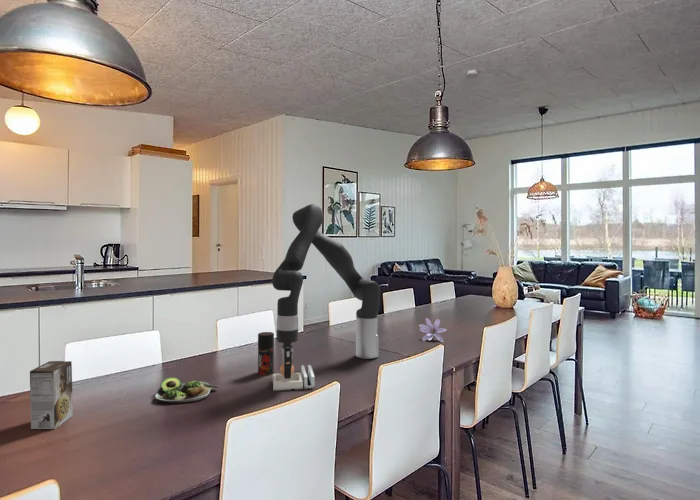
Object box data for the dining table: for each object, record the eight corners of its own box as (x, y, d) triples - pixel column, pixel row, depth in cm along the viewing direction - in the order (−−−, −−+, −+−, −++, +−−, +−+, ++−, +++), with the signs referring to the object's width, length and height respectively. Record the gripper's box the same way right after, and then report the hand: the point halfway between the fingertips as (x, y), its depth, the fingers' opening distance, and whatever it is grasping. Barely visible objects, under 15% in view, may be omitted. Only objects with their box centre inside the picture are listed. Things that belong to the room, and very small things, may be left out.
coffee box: (50, 416, 124) (49, 360, 124) (73, 415, 125) (72, 360, 124) (29, 430, 115) (28, 370, 115) (54, 429, 116) (54, 370, 115)
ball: (293, 374, 155) (293, 360, 155) (294, 378, 150) (294, 364, 150) (279, 374, 154) (279, 360, 154) (280, 379, 149) (280, 364, 149)
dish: (300, 379, 158) (300, 372, 158) (302, 389, 148) (303, 381, 148) (272, 381, 156) (272, 373, 156) (273, 390, 146) (273, 383, 146)
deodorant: (276, 371, 167) (276, 332, 167) (268, 376, 162) (268, 336, 161) (263, 369, 169) (263, 331, 169) (255, 374, 163) (255, 334, 163)
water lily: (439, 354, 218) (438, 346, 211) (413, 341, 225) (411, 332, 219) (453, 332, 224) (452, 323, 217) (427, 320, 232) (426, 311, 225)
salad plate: (220, 383, 154) (220, 370, 154) (216, 402, 137) (216, 387, 137) (162, 387, 150) (162, 374, 150) (150, 407, 132) (150, 392, 132)
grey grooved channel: (310, 375, 162) (310, 364, 162) (314, 388, 149) (314, 376, 149) (301, 375, 162) (301, 365, 162) (304, 388, 148) (304, 377, 148)
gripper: (299, 331, 145) (299, 381, 146) (296, 323, 159) (296, 369, 160) (276, 332, 144) (276, 383, 144) (276, 323, 158) (276, 370, 158)
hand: (287, 375), depth 152 cm, fingers closed on ball, 5 cm apart
